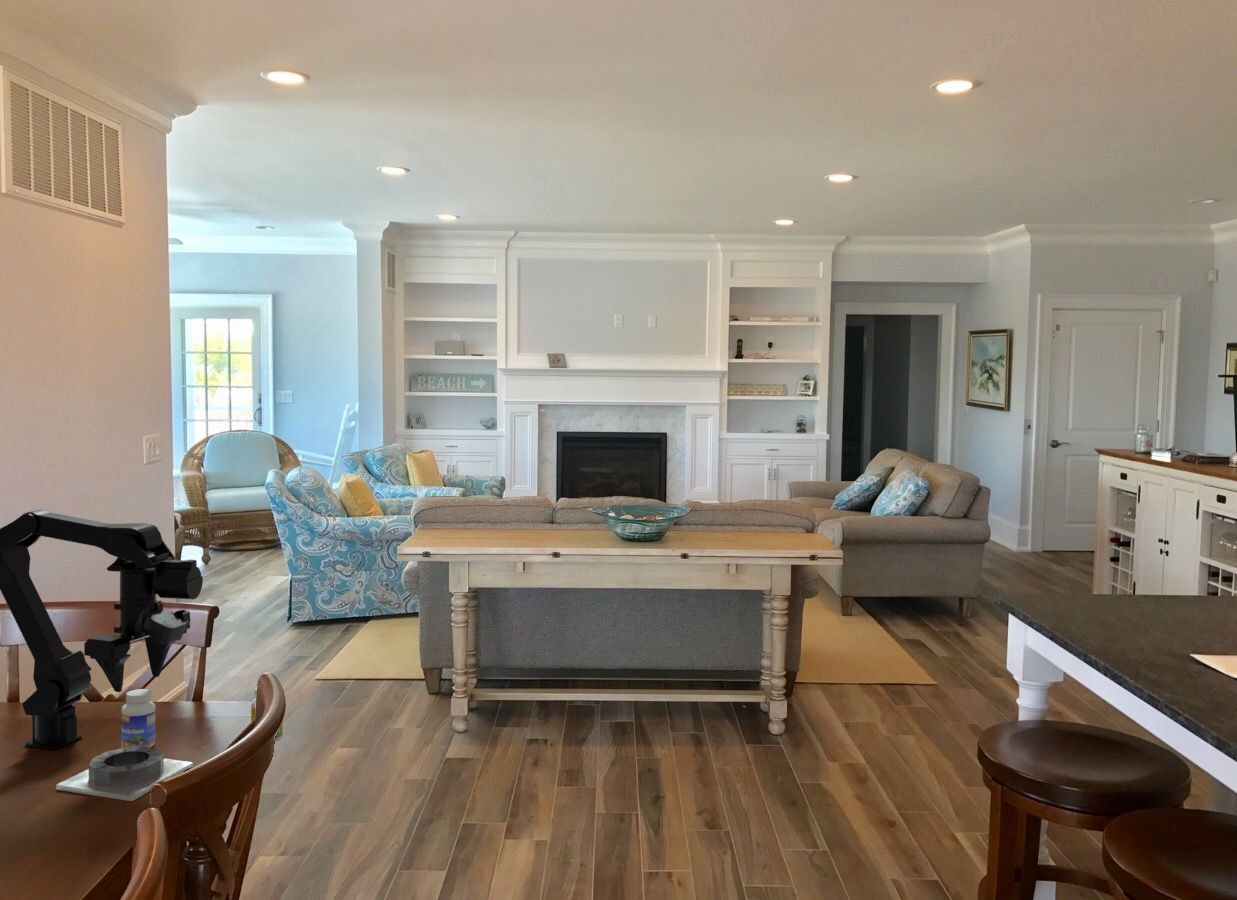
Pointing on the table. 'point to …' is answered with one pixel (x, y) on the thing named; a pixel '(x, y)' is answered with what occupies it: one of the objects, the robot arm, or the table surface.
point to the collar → (124, 773)
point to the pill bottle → (138, 719)
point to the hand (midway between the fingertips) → (137, 683)
